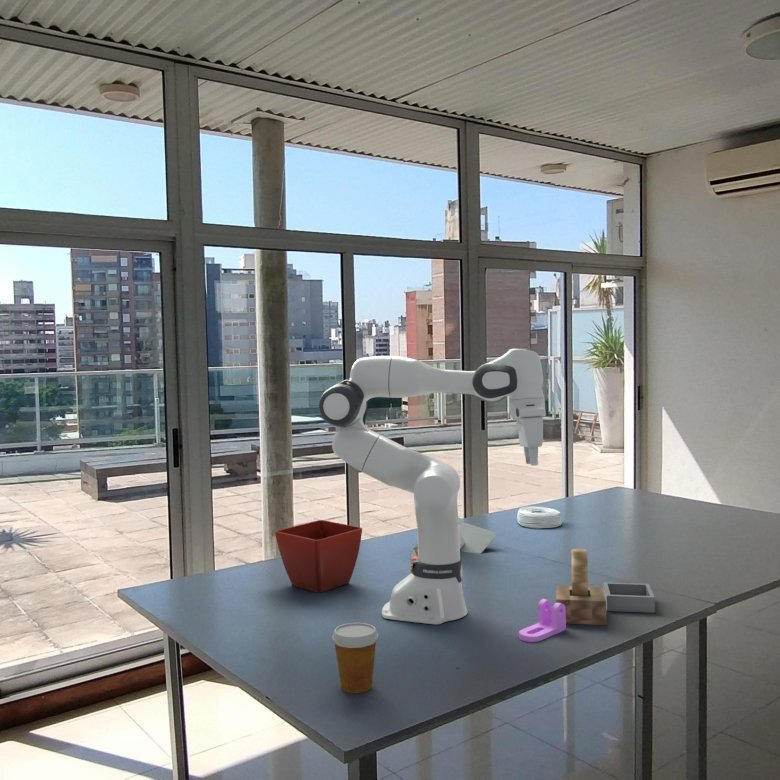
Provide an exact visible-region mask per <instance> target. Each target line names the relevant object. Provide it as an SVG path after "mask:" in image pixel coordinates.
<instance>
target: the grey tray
mask: <svg viewBox="0 0 780 780" xmlns="http://www.w3.org/2000/svg"><path fill="white" fill-rule="evenodd" d="M603 591H604V595H605V599H606V612H628V613H629V612H630V613H632V612H633V613H656V597H655V595H654V592H653V590H652V588H651V586H650V583H638V582H637V583H635V582H633V583H632V582H631V583H630V582H607V581H606V582H603Z"/></svg>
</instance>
